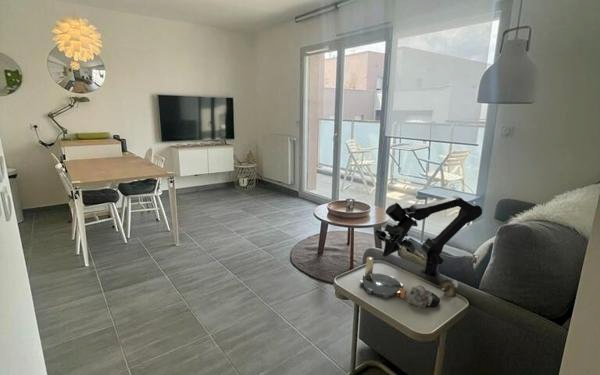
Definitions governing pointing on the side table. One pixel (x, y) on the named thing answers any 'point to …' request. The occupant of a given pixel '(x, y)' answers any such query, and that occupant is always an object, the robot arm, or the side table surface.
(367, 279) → the grey base with rod
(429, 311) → the side table surface
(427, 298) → the grey rock
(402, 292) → the index pointer
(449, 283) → the eagle figurine
